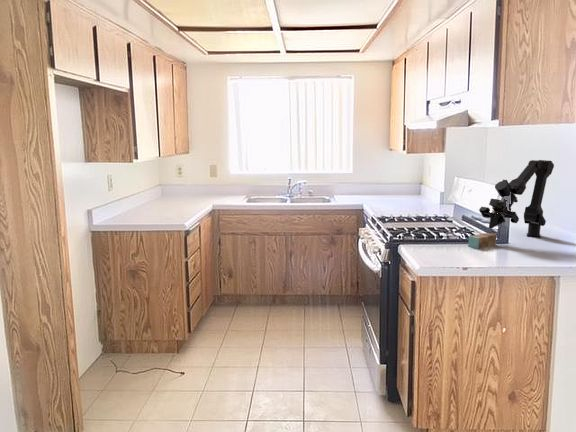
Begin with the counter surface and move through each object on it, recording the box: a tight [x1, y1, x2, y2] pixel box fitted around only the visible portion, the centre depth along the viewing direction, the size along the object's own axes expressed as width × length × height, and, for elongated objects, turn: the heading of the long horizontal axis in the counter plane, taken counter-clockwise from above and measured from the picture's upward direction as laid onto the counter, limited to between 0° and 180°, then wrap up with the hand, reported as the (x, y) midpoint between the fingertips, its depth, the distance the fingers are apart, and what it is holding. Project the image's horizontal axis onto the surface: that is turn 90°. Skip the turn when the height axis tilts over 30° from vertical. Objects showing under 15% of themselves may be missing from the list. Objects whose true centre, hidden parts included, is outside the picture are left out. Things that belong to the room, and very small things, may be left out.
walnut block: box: [467, 232, 498, 250], centre depth 238 cm, size 5×5×14 cm
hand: (489, 228), depth 240 cm, fingers closed
